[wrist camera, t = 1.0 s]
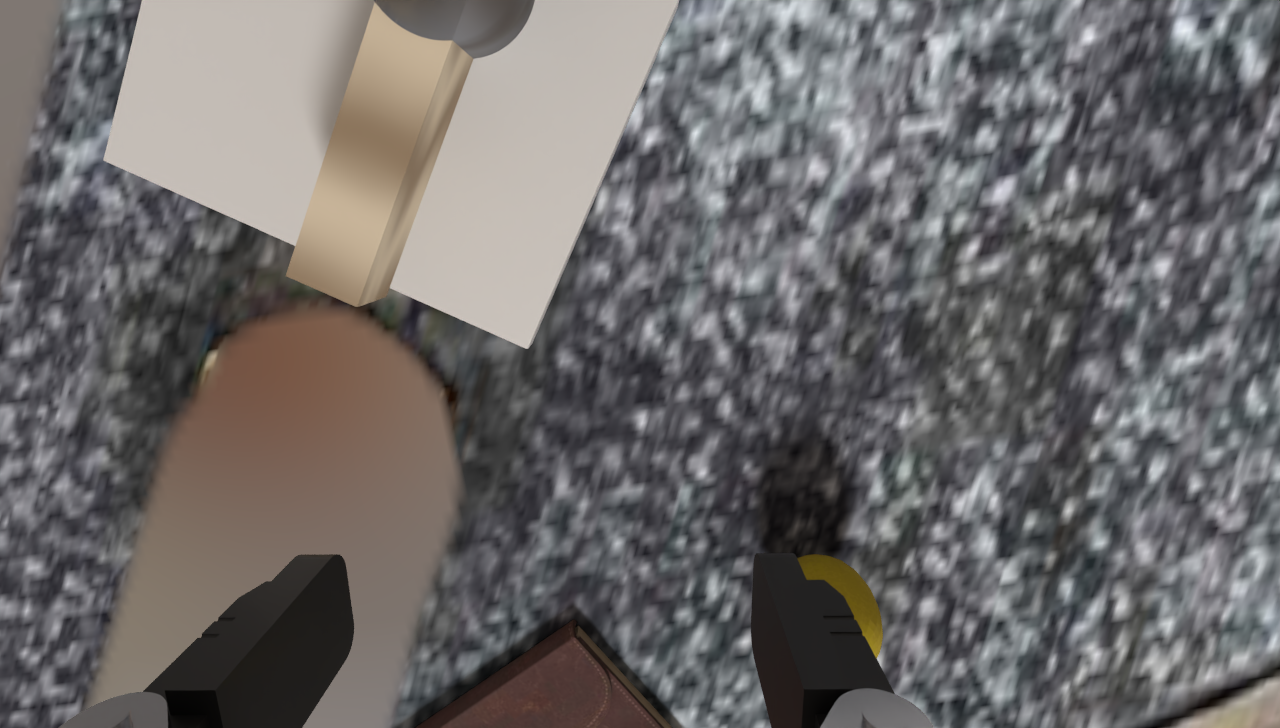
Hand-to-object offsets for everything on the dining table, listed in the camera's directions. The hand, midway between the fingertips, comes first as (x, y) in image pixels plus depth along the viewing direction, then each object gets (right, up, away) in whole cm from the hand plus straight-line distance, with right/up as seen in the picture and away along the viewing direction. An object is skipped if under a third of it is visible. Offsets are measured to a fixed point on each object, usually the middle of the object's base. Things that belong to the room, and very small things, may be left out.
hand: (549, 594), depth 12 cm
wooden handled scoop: (-8, +15, +14) cm, 22 cm away
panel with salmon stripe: (-10, +18, +18) cm, 28 cm away
